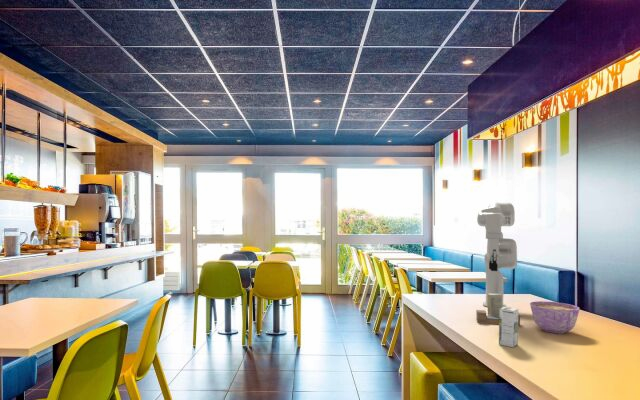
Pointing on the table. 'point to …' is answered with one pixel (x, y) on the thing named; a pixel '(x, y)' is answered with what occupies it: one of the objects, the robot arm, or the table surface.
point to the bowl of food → (554, 316)
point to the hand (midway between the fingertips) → (493, 269)
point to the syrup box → (508, 326)
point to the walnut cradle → (489, 318)
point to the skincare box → (494, 304)
